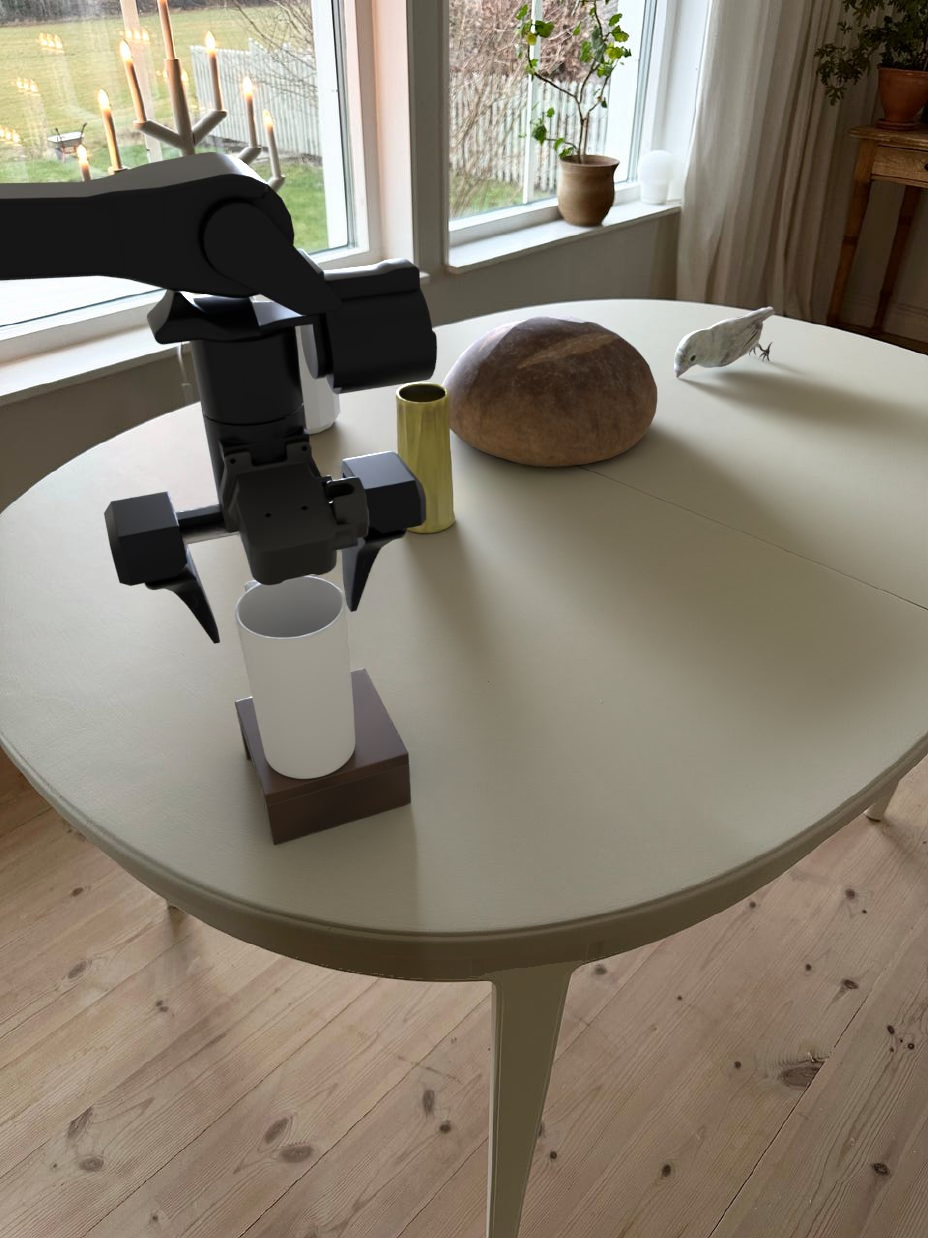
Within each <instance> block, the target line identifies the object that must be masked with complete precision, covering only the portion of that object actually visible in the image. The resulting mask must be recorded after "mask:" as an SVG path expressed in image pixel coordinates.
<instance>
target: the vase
mask: <svg viewBox="0 0 928 1238" xmlns="http://www.w3.org/2000/svg"><path fill="white" fill-rule="evenodd" d="M395 402H396V435H397V437H396V439H397V440H396V441H397V446H396V447H397V455H398V456H400V457H401V458H402V459H403V460H404V462H405V463H406V464H407V465H408V467H409V468H410V469H411V471H412V472H413V473H414V475H415V476H416V477H417V478H418V480H419V481H420V482H421V484H422V485H423V489H424V492H425V496H426V516H427V520H426V521H425V522H424V523H423V524H422V525H421V526H416V527H412V528H407V531H409V532H412V533H418V534H434V533H439V532H443V531H444V530H446V529H448V528H450V527H451V526H452V525H453V524H454V522H455V521H456V514H455V510H454V509H455V508H454V481H453V467H452V466H453V463H452V451H451V429H450V395H449V391H448V390H447V388H445V387H444V386H442V384H439V383H435V382H425V381H419V382H412V383H406V384H403V385H402V386H400V387H399V388H398V389H396V392H395Z"/></svg>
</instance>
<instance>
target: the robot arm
mask: <svg viewBox="0 0 928 1238" xmlns="http://www.w3.org/2000/svg"><path fill="white" fill-rule="evenodd" d="M295 234H296V233H295V229H294V224H293V219H292V215H291V213H290V210H288V207H287V205H286V204H285V202H284V200H283V198H282V197H281V196H280V195H279V194H278V193H277V191H275V189H273V188H272V186H270V185H269V183H267V182H266V181H265V180H264V179H263V178H261V176H259V174H257V173H256V172H255V171H254V170H253V169H252V168H250V167H249V166H248V165H247V164H246V163H244V162H243V161H242V160H241V159H239V158H236V157H234V156H233V155H230V154H227V153H222V152H217V151H205V152H198V153H194V154H189V155H183V156H178V157H173V158H168V159H164V160H163V159H162V160H158V161H153V162H149V163H144V164H141V165H138V166H134V167H132V168H129V169H126V170H123V171H120V172H116V173H114V174H110V175H107V176H103V177H98V178H94V179H88V180H83V181H51V182H50V181H49V182H48V181H47V182H46V181H44V182H43V181H41V182H0V282H1V281H3V282H4V281H23V280H25V281H26V280H43V279H47V280H48V279H64V278H84V277H85V278H86V277H104V278H114V279H122V280H129V281H133V282H136V283H141V284H145V285H147V286H153V287H156V288H160V289H164V290H166V291H165V293H164V295H163V297H162V298H161V299H160V300H159V301H158V302H157V303H156V304H155V305H154V306H153V308H152V309H150V311H148V312H147V314H146V321H147V323H148V325H149V329H150V331H151V333H152V335H153V338H154V340H155V342H156V343H157V344H159V345H160V346H161V345H163V346H165V345H174V344H180V343H186V342H187V343H189V346H190V347H189V348H190V352H191V358H192V364H193V370H194V374H195V380H196V385H197V391H198V397H199V401H200V407H201V414H202V419H203V425H204V430H205V435H206V440H207V447H208V452H209V456H210V464H211V469H212V474H213V479H214V484H215V490H216V496H217V500H218V503H217V504H211V505H205V506H201V507H195V508H191V509H190V508H189V509H184V510H180V511H176V510H175V508H174V505H173V502H172V498H171V495H170V491H167V490H166V491H162V492H161V491H160V492H155V493H150V494H144V495H139V496H133V497H129V498H122V499H116V500H112V501H110V502H109V504H108V506H107V507H106V509H105V511H104V512H103V516H104V521H105V528H106V532H107V538H108V543H109V548H110V553H111V555H112V561H113V563H114V568H115V572H116V575H117V579H118V583H119V584H120V585H121V584H122V585H126V586H128V587H133V586H138V585H142V584H144V587H145V588H146V589H148V590H150V591H158V590H168V591H169V592H172V593H174V595H176V596H177V597H178V598H179V600H181V601H182V602H183V604H184V605H186V607H187V608H188V609H189V611H190V612H191V613H192V615H193V616H194V618H195V619H196V620H197V622H198V623H199V625H200V627H201V628H202V629H203V631H204V632H205V634H207V636H208V638H209V639H210V641H211V642H212V643H213V644H214V645H217V644H220V643H221V639H220V633H219V627H218V625H217V621H216V618H215V615H214V612H213V609H212V606H211V604H210V601H209V598H208V596H207V593H206V590H205V588H204V586H203V585H204V584H203V582H202V579H201V577H200V575H199V572H198V570H197V569H198V568H197V567H196V564H195V561H194V558H193V556H192V553H191V551H190V548H189V545H193V544H197V543H202V542H207V541H213V540H217V539H222V538H226V537H227V538H228V537H233V536H238V535H239V537H240V540H241V544H242V547H243V550H244V552H245V553H244V554H245V556H246V559H247V562H248V566H249V570H250V574H251V576H252V578H253V579H254V581H257V582H258V583H260V584H263V585H276V584H280V583H282V582H283V581H285V580H289V579H293V578H298V577H303V576H311V575H314V576H322V575H325V574H329V573H330V572H331V571H332V570H334V569H335V567H336V566H337V562H338V561H337V560H338V551H341V566H342V567H341V570H342V583H343V591H344V597H345V600H346V607H347V608H348V610H349V611H350V612H351V613H353V612H354V613H355V612H357V611H358V608H359V606H360V602H361V600H362V597H363V593H364V591H365V587H366V585H367V582H368V579H369V577H370V574H371V571H372V568H373V566H374V563H375V561H376V559H377V558H378V555H379V553H380V551H381V550H382V548H383V547H385V546H386V545H388V544H389V543H391V542H392V541H395V540H399V539H403V538H404V537H405V536H406V534H407V532H408V530H407V528H412V527H416V526H421V525H422V524H423V523H424V522H425V521H426V520H427V516H426V496H425V492H424V489H423V485H422V484H421V482H420V481H419V480H418V478H417V477H416V476H415V475H414V473H413V472H412V471H411V469H410V468H409V467H408V465H407V464H406V463H405V462H404V460H403V459H402V458H401V457H400V456H398V453H396V452H395V451H393V450H389V451H383V452H378V453H371V454H365V455H361V456H355V457H349V458H344V459H342V461H341V464H340V466H339V467H340V468H339V469H340V479H334V480H333V477H332V474H329V475H324V476H323V475H322V473H321V471H320V469H319V468H318V465H317V463H316V461H315V459H314V456H313V448H312V445H311V440H310V434H309V433H308V432H307V425H306V416H305V407H304V400H303V399H304V398H303V389H302V381H301V372H300V363H299V354H298V345H297V336H296V327H295V326H300V332H301V341H302V347H303V352H304V356H305V360H306V364H307V367H308V370H309V372H310V374H311V376H312V378H313V379H321V378H325V377H326V379H327V382H328V384H329V386H330V388H331V390H332V391H333V393H335V394H339V395H343V394H349V393H354V392H361V391H367V390H374V389H380V388H387V387H393V386H399V385H407V384H411V383H419V382H425V381H429V380H431V378H432V377H433V376H434V373H435V371H436V366H437V359H438V338H437V333H436V332H435V331H434V330H433V324H432V320H431V319H432V318H431V314H430V311H429V307H428V303H427V300H426V297H425V294H424V292H423V290H422V288H421V269H420V268H419V267H417V265H415V264H414V263H413V262H411V261H410V260H409V259H407V258H406V257H401V258H399V257H398V258H391V259H386V260H383V261H380V262H378V263H375V264H370V265H364V266H363V265H362V266H354V267H347V268H338V269H328V270H324V269H322V267H321V266H320V265H319V264H318V263H317V262H316V261H315V260H314V259H313V258H312V257H311V256H310V255H309V254H308V253H307V251H305V250H304V249H303V248H296V247H295V236H296V235H295ZM195 294H196V295H195ZM260 294H261V295H263V296H264V297H266V298H268V299H270V300H272V301H265V302H260V301H256V300H255V301H254V300H253V301H252V300H251V298H253V296H256V295H260Z"/></svg>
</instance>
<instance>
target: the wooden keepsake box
mask: <svg viewBox="0 0 928 1238" xmlns="http://www.w3.org/2000/svg"><path fill="white" fill-rule="evenodd" d="M351 682H352V696H353V709H354V727H355V748H354V751H353V753H352V755H351V757H350V758H349V760H348V761H347V762H346V763H345V764H344V765H343V766H342V767H340V768H339V769H337V770H336V771H334V772H332V773H330V774H327V775H325V776H321V777H317V778H311V779H298V778H292V777H288V776H285V775H283V774H280V773H279V772H277V771H276V770H274V769H273V768H272V767H271V766H270V765H269V763H268V762H267V760H266V757H265V754H264V749H263V744H262V740H261V736H260V731H259V727H258V722H257V717H256V712H255V708H254V703H253V698H252V696H250V697H246V698H243V699H238V700H235V701H234V707H235V711H236V716H237V721H238V726H239V731H240V736H241V740H242V746H243V751H244V754H245V757H246V760H247V761H249V760H251V761H252V764H253V767H254V771H255V773H256V777H257V781H258V783H259V787H260V790H261V793H262V798H263V801H264V802H263V803H264V808H265V813H266V818H267V824H268V829H269V834H270V837H271V841H272V844H273V845H274V846H276V845H279V844H280V845H281V844H282V843H286V842H290V841H292V840H295V839H299V838H302V837H305V836H309V835H312V834H316V833H319V832H322V831H324V830H328V829H331V828H334V827H338V826H341V825H344V824H347V823H350V822H354V821H358V820H361V819H364V818H367V817H371V816H373V815H377V814H380V813H384V812H386V811H390V810H393V809H396V808H399V807H402V806H403V807H404V806H406V805H409V804H411V803H412V794H411V793H412V790H411V789H412V788H411V772H410V753H409V751H408V749H407V748H406V746H405V744H404V742H403V739H402V738H401V736H400V734H399V731H398V730H397V727H396V726H395V724H394V722H393V720H392V718H391V717H390V714H389V713H388V710H387V708H386V707H385V704H384V703H383V701H382V699H381V697H380V695H379V692H378V691H377V689H376V687H375V685H374V683H373V681H372V678H371V677H370V675H369V673H368V671H367V669H366V668H365V667H363V668H359V669H355V670H351Z"/></svg>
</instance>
